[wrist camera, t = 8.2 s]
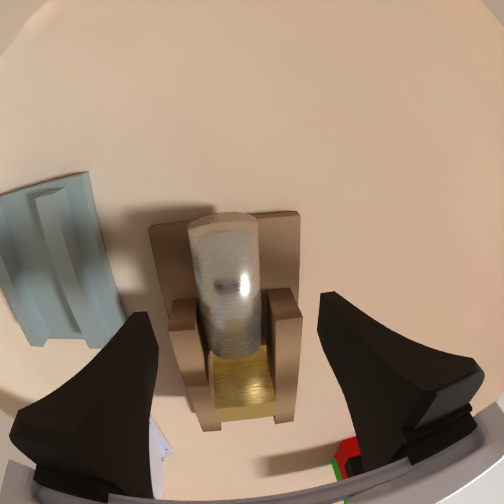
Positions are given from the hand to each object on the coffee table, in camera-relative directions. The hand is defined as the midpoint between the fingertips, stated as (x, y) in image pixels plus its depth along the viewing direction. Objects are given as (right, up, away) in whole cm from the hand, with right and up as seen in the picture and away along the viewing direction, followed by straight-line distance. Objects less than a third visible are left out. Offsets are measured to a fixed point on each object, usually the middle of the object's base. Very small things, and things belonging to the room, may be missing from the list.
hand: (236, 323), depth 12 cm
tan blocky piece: (0, -3, +9) cm, 9 cm away
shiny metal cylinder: (-1, +2, +7) cm, 7 cm away
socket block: (-1, -4, +10) cm, 11 cm away
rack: (-14, +2, +5) cm, 15 cm away
